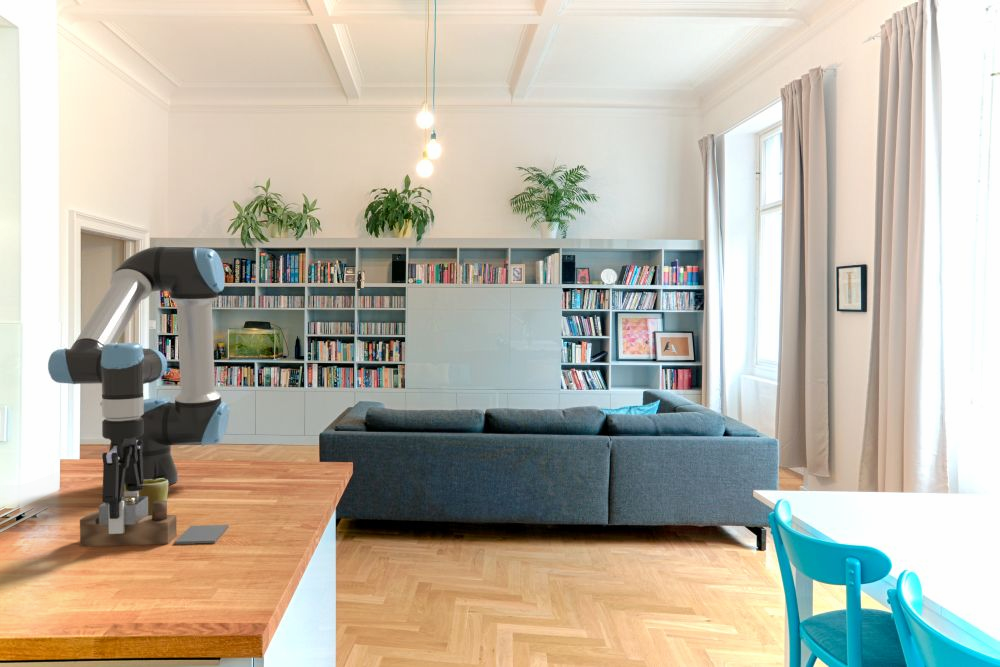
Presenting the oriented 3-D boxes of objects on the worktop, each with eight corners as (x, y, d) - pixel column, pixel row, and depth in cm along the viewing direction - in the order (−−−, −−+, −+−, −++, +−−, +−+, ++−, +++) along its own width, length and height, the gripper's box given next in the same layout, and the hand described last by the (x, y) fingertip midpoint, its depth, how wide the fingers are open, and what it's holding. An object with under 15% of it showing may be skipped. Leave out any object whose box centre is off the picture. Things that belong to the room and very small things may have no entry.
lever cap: (99, 525, 136) (98, 502, 136) (113, 515, 143) (113, 493, 142) (135, 524, 137) (135, 501, 137) (148, 514, 143) (148, 492, 143)
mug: (151, 516, 150) (146, 472, 152) (114, 527, 152) (109, 483, 154) (190, 511, 162) (184, 470, 164) (154, 521, 164) (149, 480, 166)
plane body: (80, 546, 137) (79, 507, 136) (92, 537, 142) (91, 500, 141) (167, 543, 139) (167, 505, 138) (176, 535, 144) (176, 498, 143)
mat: (190, 528, 148) (190, 525, 148) (228, 527, 149) (228, 524, 149) (174, 544, 138) (174, 541, 138) (214, 543, 139) (214, 540, 139)
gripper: (124, 410, 148) (125, 513, 149) (80, 426, 129) (81, 544, 130) (160, 410, 149) (161, 512, 150) (121, 426, 130) (123, 543, 131)
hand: (124, 526), depth 140 cm, fingers closed on lever cap, 6 cm apart
